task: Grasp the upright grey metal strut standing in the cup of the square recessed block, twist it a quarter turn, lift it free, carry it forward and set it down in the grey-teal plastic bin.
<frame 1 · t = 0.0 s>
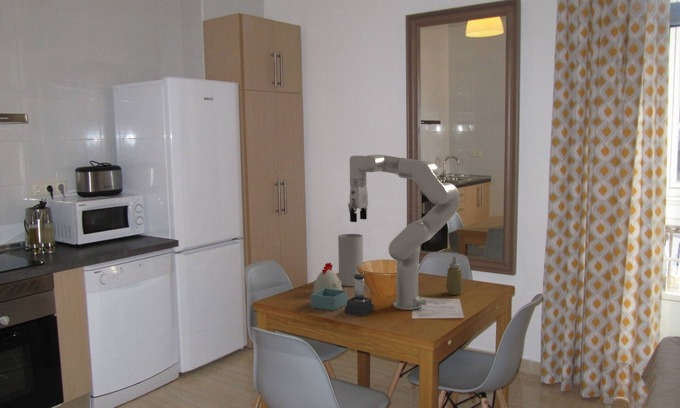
hand: (358, 220, 255), 37 cm above the table, tool pointing down, fingers open, 9 cm apart
strut: (359, 305, 239), point 3 cm above the table, touching square recessed block
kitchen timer: (327, 294, 269), on the table
square recessed block: (359, 311, 239), on the table
cylinder vase: (351, 284, 288), on the table
bin: (329, 305, 249), on the table
squeeze bottle: (454, 294, 266), on the table
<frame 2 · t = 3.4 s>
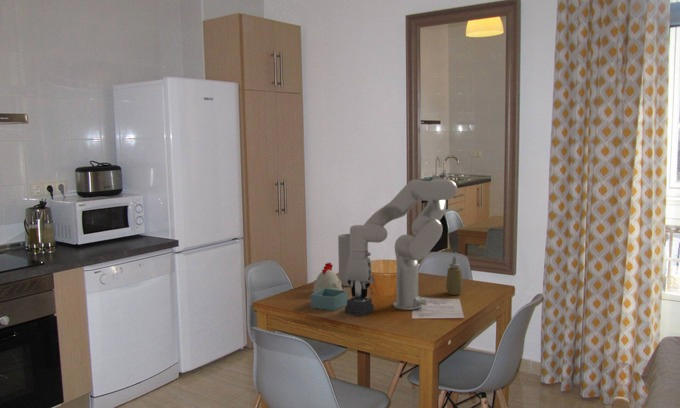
hand: (359, 296, 239), 7 cm above the table, tool pointing down, fingers closed on strut, 4 cm apart
strut: (359, 305, 239), point 3 cm above the table, touching gripper, square recessed block
everything else where it was.
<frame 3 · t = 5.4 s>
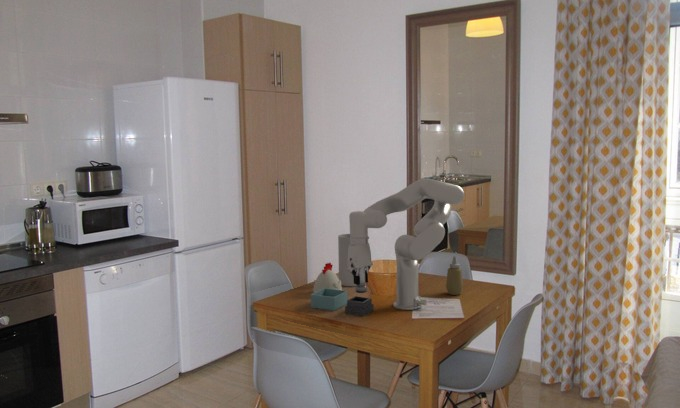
hand: (360, 282, 238), 13 cm above the table, tool pointing down, fingers closed on strut, 4 cm apart
strut: (361, 291, 239), point 9 cm above the table, touching gripper
everything else where it was.
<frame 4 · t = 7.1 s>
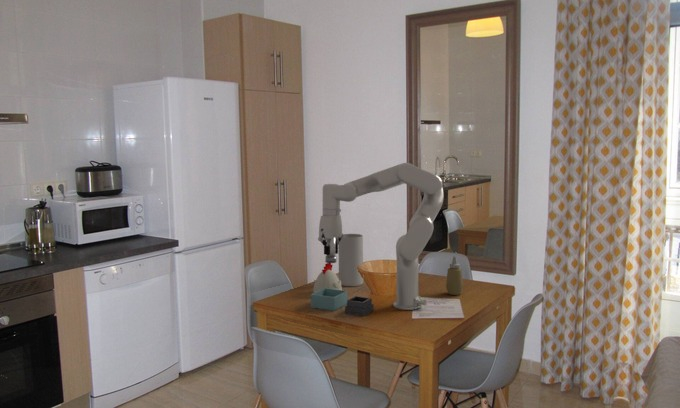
hand: (330, 253, 245), 24 cm above the table, tool pointing down, fingers closed on strut, 4 cm apart
strut: (330, 261, 246), point 20 cm above the table, touching gripper
everything else where it was.
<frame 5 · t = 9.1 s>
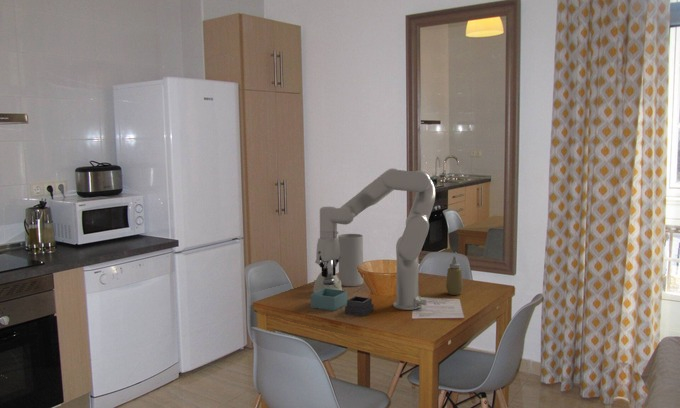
hand: (328, 275, 247), 14 cm above the table, tool pointing down, fingers closed on strut, 4 cm apart
strut: (328, 283, 248), point 10 cm above the table, touching gripper
everything else where it was.
when the fingers open (6 cm above the table, at t = 10.8 s): strut drops 2 cm, resting on bin.
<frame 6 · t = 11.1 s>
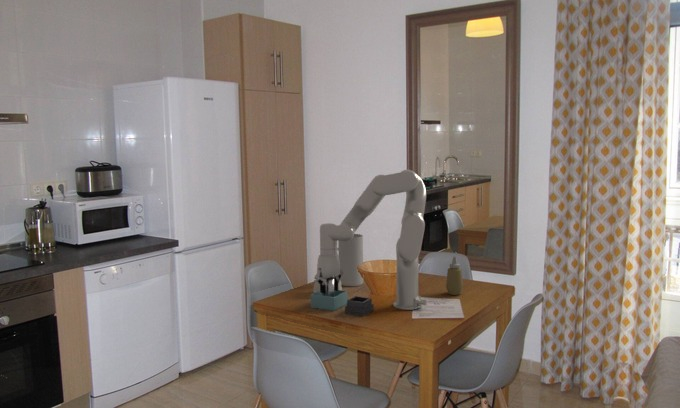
hand: (329, 291, 248), 7 cm above the table, tool pointing down, fingers open, 6 cm apart
strut: (329, 304, 249), point 1 cm above the table, touching bin
everything else where it was.
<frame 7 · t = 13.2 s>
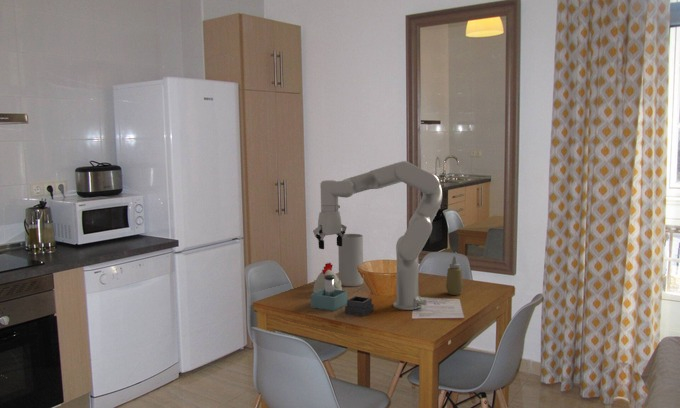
hand: (330, 247, 246), 26 cm above the table, tool pointing down, fingers open, 9 cm apart
nothing on the table moved.
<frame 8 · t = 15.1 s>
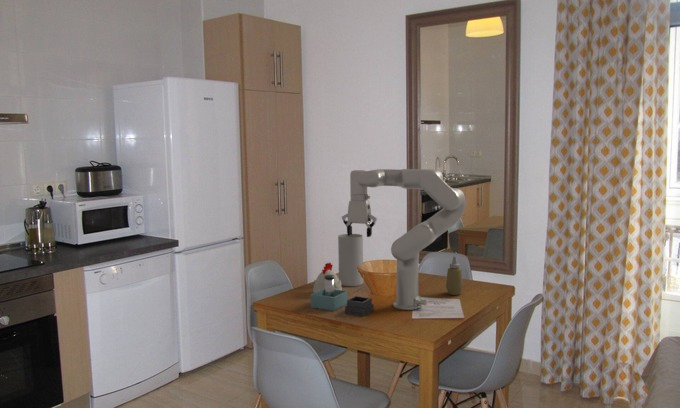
hand: (359, 235, 252), 30 cm above the table, tool pointing down, fingers open, 9 cm apart
nothing on the table moved.
at the end: strut inside the target area on the bin (0.1 cm from its centre), point 0.6 cm above the bin's base; the gripper is holding nothing; strut touching bin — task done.
